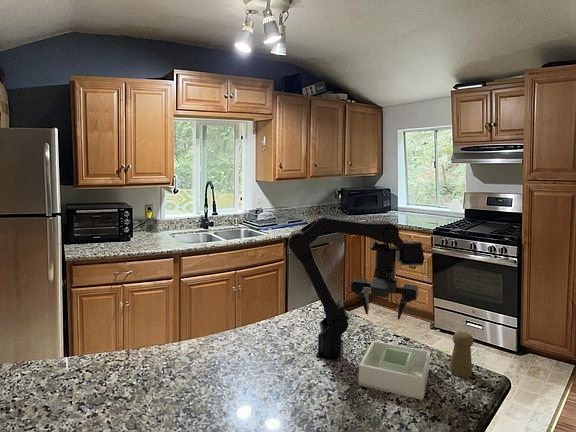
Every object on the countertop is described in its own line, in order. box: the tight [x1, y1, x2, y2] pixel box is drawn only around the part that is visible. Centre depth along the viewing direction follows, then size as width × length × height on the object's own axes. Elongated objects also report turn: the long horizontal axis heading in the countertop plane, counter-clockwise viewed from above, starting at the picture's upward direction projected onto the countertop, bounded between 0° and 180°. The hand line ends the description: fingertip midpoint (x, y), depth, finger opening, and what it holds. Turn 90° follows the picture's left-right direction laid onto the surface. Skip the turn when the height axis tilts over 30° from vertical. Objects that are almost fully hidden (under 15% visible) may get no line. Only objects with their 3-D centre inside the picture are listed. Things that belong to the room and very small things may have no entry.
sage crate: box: [379, 348, 412, 374], centre depth 112 cm, size 7×9×5 cm
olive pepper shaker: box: [448, 331, 474, 378], centre depth 115 cm, size 6×6×11 cm
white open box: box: [357, 340, 431, 401], centre depth 112 cm, size 16×16×6 cm
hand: (382, 316), depth 123 cm, fingers open, 9 cm apart
